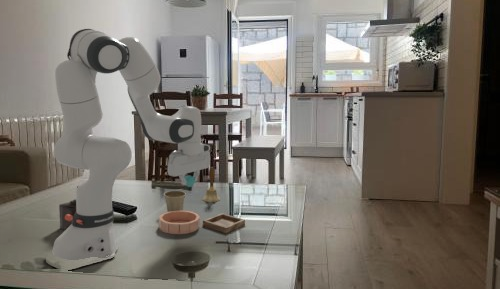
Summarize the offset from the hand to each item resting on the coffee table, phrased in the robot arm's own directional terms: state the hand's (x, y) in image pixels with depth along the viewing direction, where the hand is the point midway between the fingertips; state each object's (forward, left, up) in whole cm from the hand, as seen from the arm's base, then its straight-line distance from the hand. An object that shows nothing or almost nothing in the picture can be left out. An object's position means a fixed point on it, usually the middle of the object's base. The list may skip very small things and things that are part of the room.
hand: (189, 183), depth 163 cm
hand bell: (+32, +16, -18) cm, 40 cm away
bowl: (-3, +2, -18) cm, 18 cm away
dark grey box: (-29, +27, -18) cm, 44 cm away
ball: (0, 0, -1) cm, 1 cm away
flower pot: (+7, +15, -18) cm, 25 cm away
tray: (+10, -10, -18) cm, 23 cm away
